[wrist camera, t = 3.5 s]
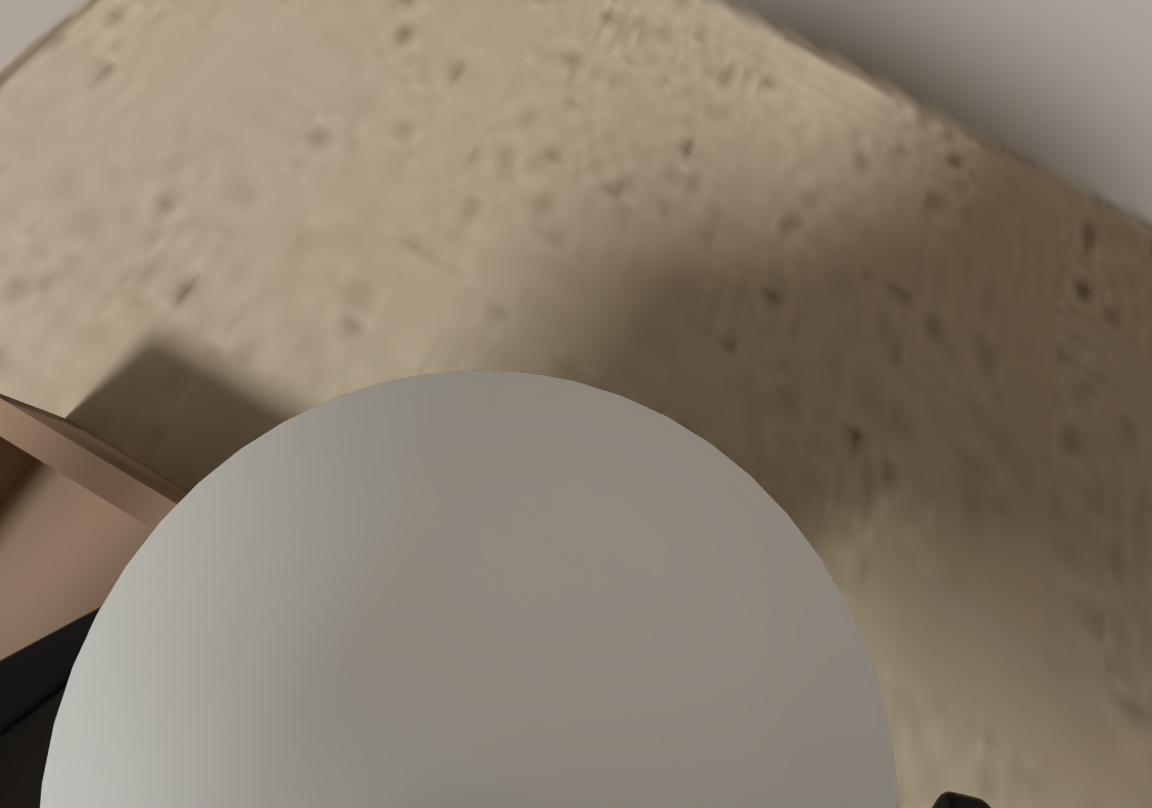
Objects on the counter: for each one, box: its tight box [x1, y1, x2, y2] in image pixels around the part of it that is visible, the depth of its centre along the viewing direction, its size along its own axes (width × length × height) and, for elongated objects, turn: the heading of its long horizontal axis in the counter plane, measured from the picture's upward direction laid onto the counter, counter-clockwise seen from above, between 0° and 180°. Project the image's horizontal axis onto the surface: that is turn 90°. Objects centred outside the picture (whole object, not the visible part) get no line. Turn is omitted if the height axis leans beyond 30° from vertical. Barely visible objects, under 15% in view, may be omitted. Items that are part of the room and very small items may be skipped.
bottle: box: [40, 370, 898, 808], centre depth 10 cm, size 5×5×14 cm
